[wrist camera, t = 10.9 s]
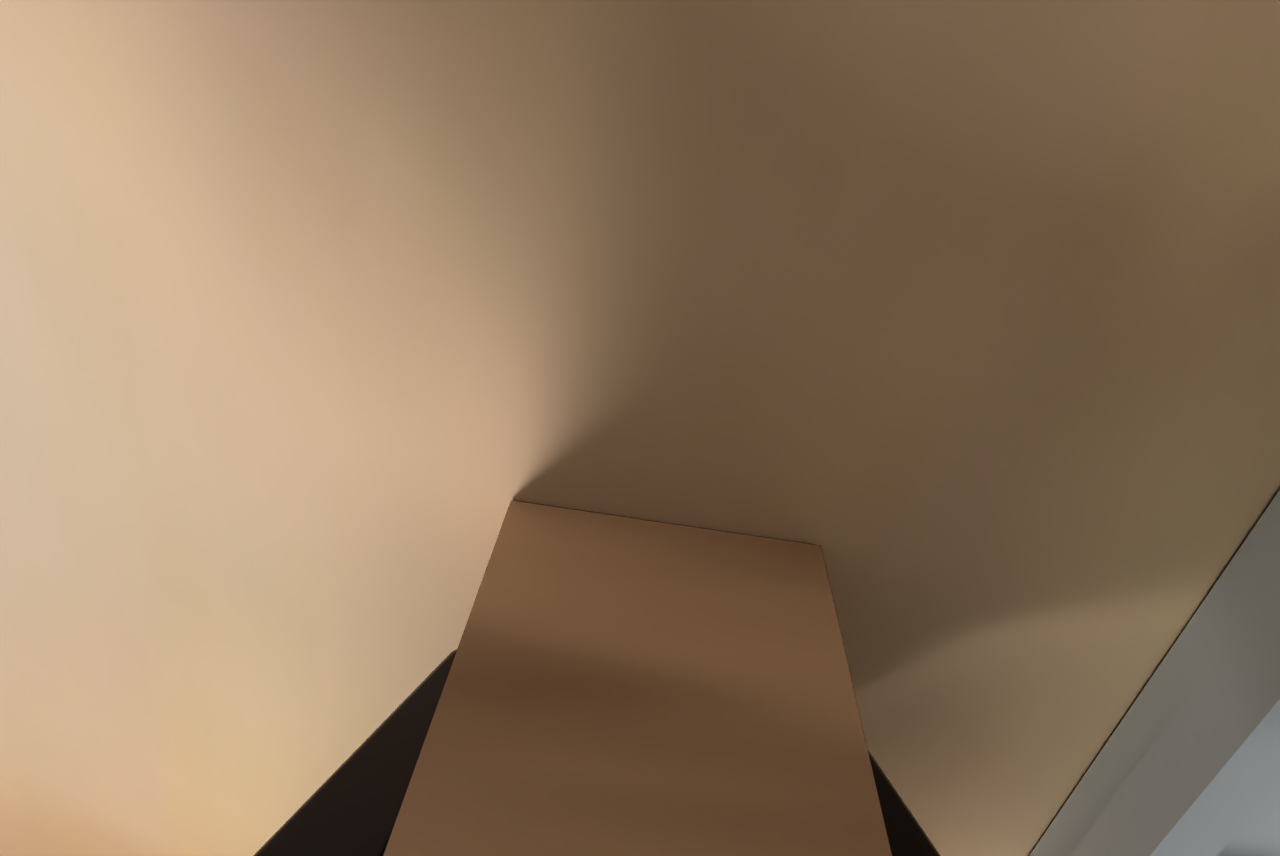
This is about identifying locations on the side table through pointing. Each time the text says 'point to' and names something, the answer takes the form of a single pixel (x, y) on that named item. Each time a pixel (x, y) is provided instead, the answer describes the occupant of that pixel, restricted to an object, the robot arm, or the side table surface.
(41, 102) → the side table surface
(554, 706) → the walnut block
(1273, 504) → the tray
